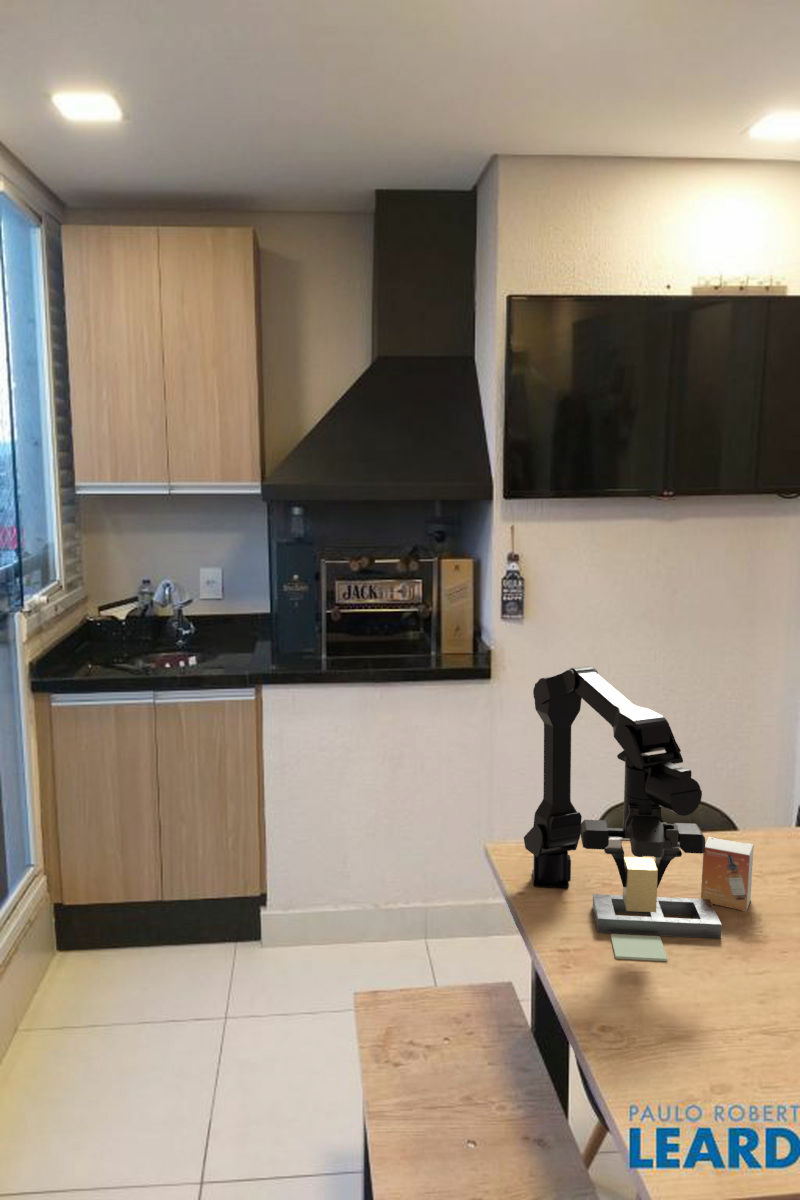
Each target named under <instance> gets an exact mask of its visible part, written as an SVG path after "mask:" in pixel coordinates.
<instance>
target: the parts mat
mask: <svg viewBox="0 0 800 1200" xmlns="http://www.w3.org/2000/svg"><path fill="white" fill-rule="evenodd" d="M610 939H611V944H612V945H611V946H612V948H613V953H614V957H615V959H618V960H637V961H653V962H656V961H657V962H668V957H667V953H666V950H665V946H664V945H663V941H662V939H661V936H655V935H634V934H614V933H610Z"/></svg>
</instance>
